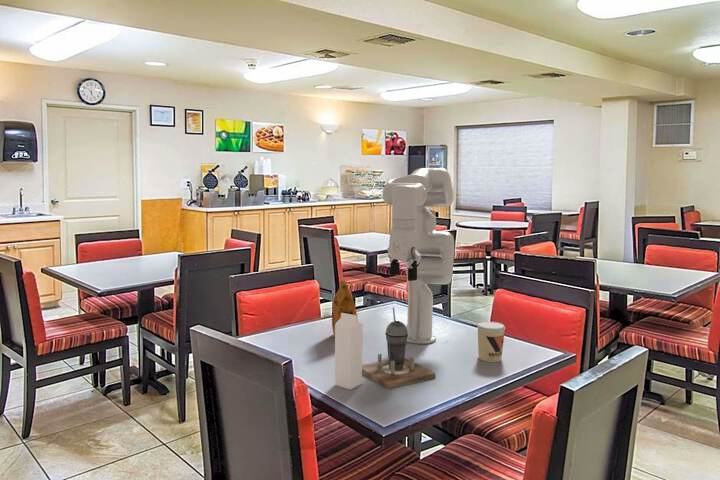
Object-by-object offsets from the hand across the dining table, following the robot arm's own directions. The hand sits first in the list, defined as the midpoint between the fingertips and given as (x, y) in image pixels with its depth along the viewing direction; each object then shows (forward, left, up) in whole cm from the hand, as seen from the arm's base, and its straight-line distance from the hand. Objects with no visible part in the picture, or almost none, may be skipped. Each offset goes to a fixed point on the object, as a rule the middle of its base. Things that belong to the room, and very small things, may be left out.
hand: (403, 277), depth 182 cm
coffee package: (-40, +1, -31) cm, 51 cm away
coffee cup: (+6, +33, -31) cm, 46 cm away
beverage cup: (+1, -3, -29) cm, 30 cm away
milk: (+2, -21, -31) cm, 38 cm away
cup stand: (+2, -4, -31) cm, 31 cm away
